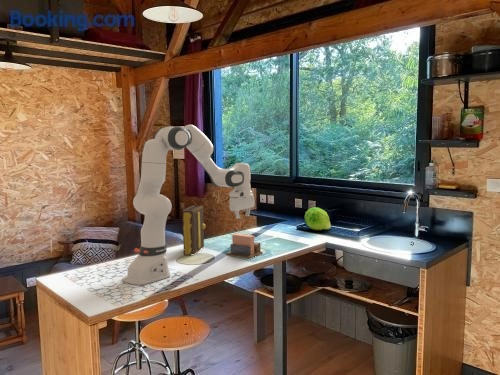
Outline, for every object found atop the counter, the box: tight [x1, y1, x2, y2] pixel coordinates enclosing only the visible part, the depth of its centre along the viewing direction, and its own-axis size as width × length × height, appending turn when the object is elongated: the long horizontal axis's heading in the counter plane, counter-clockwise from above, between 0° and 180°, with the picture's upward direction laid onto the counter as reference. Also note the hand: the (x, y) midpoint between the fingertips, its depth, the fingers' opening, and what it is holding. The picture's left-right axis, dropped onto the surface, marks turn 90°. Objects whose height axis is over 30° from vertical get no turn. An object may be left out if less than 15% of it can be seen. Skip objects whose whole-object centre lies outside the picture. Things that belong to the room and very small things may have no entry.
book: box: [182, 205, 206, 256], centre depth 238 cm, size 22×8×25 cm, turn 168°
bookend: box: [230, 243, 250, 256], centre depth 225 cm, size 1×12×5 cm, turn 58°
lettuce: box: [304, 207, 332, 231], centre depth 290 cm, size 17×20×16 cm
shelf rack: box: [226, 241, 264, 259], centre depth 229 cm, size 12×16×6 cm
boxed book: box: [231, 233, 255, 255], centre depth 227 cm, size 4×12×10 cm, turn 58°
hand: (242, 217), depth 226 cm, fingers open, 8 cm apart
